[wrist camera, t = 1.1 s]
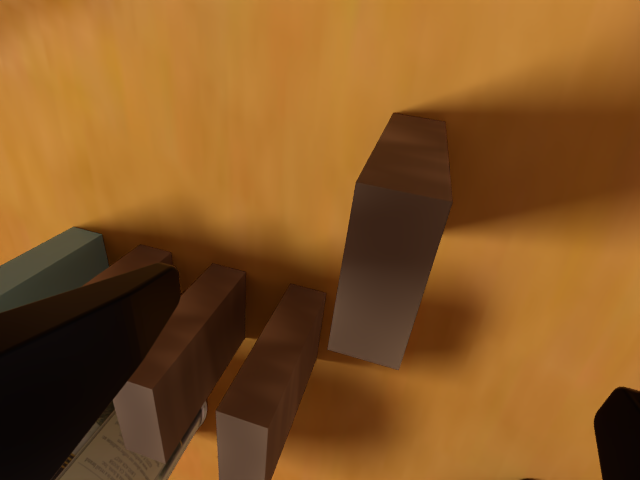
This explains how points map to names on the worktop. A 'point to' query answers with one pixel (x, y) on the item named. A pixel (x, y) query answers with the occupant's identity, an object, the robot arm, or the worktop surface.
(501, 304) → the worktop surface
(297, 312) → the domino
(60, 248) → the domino
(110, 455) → the coffee can
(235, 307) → the domino
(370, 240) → the domino
